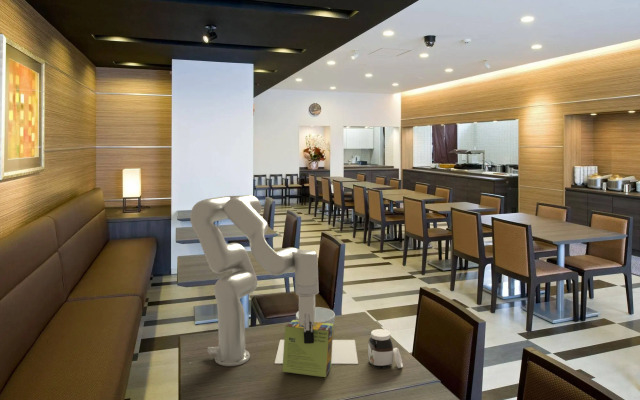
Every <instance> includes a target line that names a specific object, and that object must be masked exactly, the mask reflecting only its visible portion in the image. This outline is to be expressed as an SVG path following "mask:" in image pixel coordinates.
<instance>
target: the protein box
mask: <svg viewBox="0 0 640 400" xmlns="http://www.w3.org/2000/svg"><path fill="white" fill-rule="evenodd" d="M313 330H314V343H311V344H305V343H304V323H303V325H301V326H300V325H299V320H296V319H292V320H291V321H290V322H288V323H287V325H285V326H284V338H283V340H284V353H283V364H282V369H281V371H282V372H283V373H284V372H285V373H292V374H299V375H305V376H306V375H307V376H313V377H321V378H323V377H324V378H326V377H328V374H329V372H330V370H331V369H332V364H331V361H332V340H334V339H333V338H334V324H331V323H320V322H314V325H313Z"/></svg>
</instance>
